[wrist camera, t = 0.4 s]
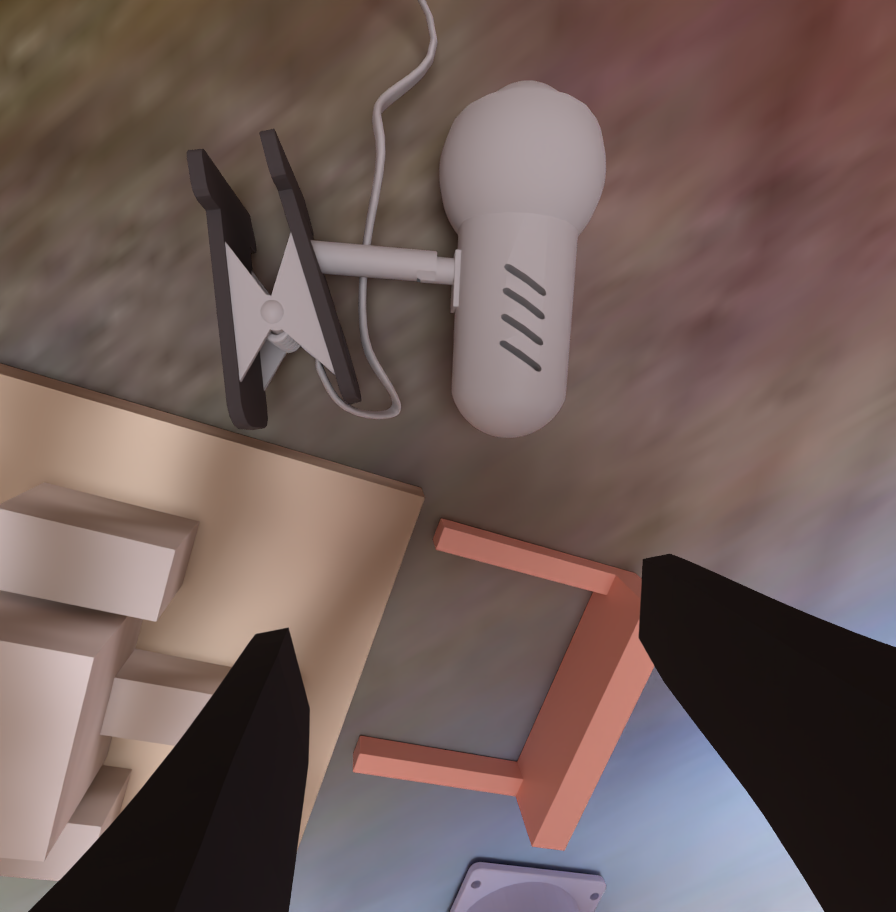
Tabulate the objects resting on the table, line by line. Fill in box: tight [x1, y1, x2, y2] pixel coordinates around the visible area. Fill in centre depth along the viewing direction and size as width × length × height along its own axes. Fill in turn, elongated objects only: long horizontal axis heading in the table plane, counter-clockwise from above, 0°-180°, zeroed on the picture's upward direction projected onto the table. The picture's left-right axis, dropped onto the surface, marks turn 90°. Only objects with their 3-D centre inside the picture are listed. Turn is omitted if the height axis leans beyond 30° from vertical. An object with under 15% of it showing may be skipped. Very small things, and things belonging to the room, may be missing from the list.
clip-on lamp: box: [187, 0, 606, 438], centre depth 15 cm, size 12×6×18 cm
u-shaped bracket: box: [353, 518, 654, 851], centre depth 21 cm, size 10×12×3 cm
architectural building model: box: [0, 363, 425, 881], centre depth 18 cm, size 16×20×5 cm
